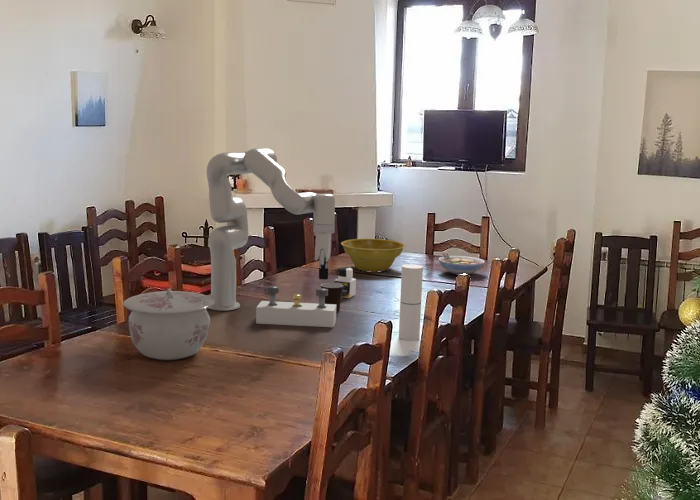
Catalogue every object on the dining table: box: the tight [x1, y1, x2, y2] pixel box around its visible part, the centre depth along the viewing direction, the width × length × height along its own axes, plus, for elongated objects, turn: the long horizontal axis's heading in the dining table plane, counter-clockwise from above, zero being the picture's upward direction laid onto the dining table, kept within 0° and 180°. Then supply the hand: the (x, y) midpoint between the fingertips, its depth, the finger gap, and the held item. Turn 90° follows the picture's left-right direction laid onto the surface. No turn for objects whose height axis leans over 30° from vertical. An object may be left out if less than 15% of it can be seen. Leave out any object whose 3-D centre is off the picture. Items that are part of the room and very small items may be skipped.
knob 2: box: [315, 287, 328, 308], centre depth 276 cm, size 4×4×8 cm
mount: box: [255, 300, 337, 328], centre depth 277 cm, size 28×10×6 cm, turn 86°
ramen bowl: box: [438, 253, 486, 275], centre depth 376 cm, size 25×23×8 cm
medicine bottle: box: [333, 266, 357, 299], centre depth 321 cm, size 7×7×12 cm
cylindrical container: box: [398, 263, 424, 341], centre depth 260 cm, size 7×7×25 cm
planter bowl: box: [340, 238, 406, 273], centre depth 379 cm, size 32×32×13 cm
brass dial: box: [292, 293, 302, 307], centre depth 276 cm, size 3×3×5 cm
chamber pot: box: [122, 288, 215, 361], centre depth 234 cm, size 28×28×21 cm
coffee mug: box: [320, 282, 343, 313], centre depth 297 cm, size 12×9×10 cm
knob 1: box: [266, 285, 280, 306], centre depth 277 cm, size 4×4×8 cm
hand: (323, 278), depth 274 cm, fingers closed
